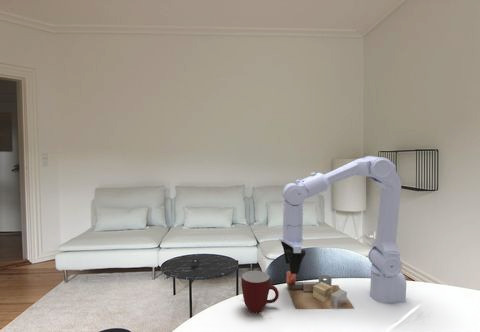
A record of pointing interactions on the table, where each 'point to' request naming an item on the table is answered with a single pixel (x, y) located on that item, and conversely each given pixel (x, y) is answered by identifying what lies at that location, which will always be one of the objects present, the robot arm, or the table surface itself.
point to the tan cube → (322, 291)
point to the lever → (305, 285)
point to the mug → (257, 290)
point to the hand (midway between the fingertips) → (291, 268)
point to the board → (314, 300)
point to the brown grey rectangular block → (338, 299)
